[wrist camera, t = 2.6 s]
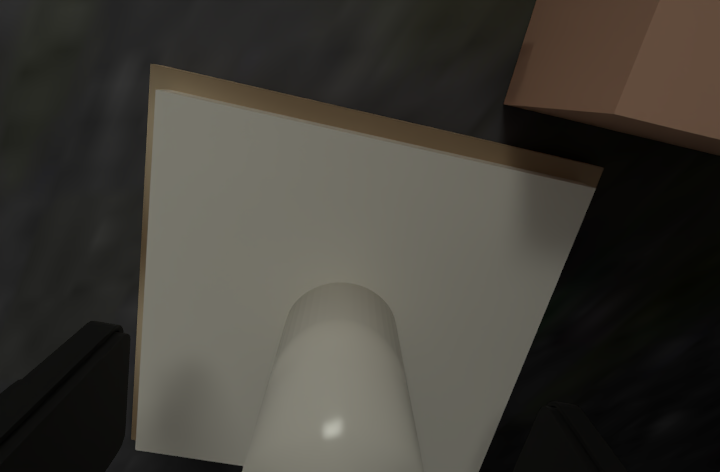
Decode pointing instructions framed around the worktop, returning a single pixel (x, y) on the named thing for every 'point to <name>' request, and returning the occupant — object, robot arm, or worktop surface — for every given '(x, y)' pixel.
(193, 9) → the worktop surface
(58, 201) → the worktop surface
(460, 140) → the mat
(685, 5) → the dish
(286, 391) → the lid
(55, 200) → the worktop surface
